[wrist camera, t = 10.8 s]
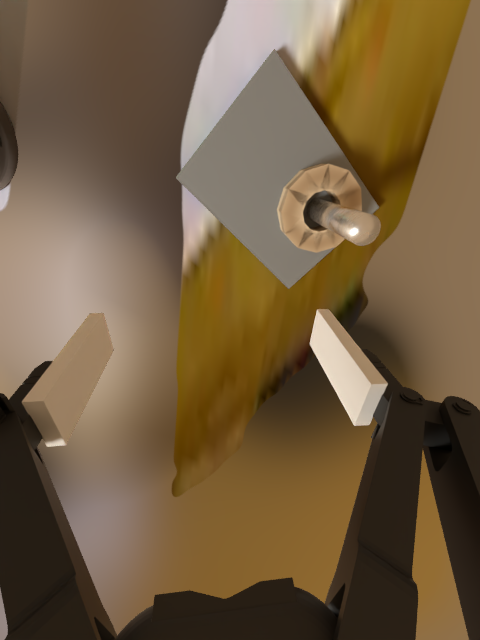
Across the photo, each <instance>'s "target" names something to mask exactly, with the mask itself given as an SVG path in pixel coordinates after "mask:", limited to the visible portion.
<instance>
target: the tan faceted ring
mask: <svg viewBox="0 0 480 640" xmlns="http://www.w3.org/2000/svg"><path fill="white" fill-rule="evenodd" d="M323 190H324V191H327V193H328V194H329V195H330V197H331V198H332V203H335V204H339V205H342V206H345V207H349V208H352V209H355V210H359V211H362V199H361V187H360V186H359V184H358V183H357V181H356V180H355V178H354V177H353V175H352V174H351V172H350V171H349V170H347V169H343V168H340V167H337V166H334V165H331V164H319V165H316V166H313V167H309V168H306V169H303V170H300V171H299V172H298V173H297V174H296V175H295V176H294V177H293V178H292V179H291V180H290V181H289V182H288V184H287V185H286V186H285V187H284V188H283V191H282V194H281V198H280V201H279V204H278V208H277V213H278V218H279V223H280V229H281V230H282V232H283V233H284V234H285V235H286V236H287V237H288V238H289V239H290V240H291V242H292V243H293V244H294V245H295V246H296V247H297V248H300V249H304V250H308V251H312V252H316V253H317V252H320V251H324V250H327V249H331V248H334V247H336V246H337V245H339V244H340V243H341V242H342V241H343V240H344V239H345V238H343V237H342V236H340V235H338V234H336V233H334V232H333V231H331V230H329V229H327V228H325V227H323V226H322V225H320V226H317V227H313V228H312V227H308V226H307V225H306V224H305V223H304V217H303V210H304V207H305V205H306V202H307V201H308V199H309V198H310V197H311V196H312V195H313V194H314V193H317V192H320V191H323Z"/></svg>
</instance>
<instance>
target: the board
mask: <svg viewBox="0 0 480 640" xmlns="http://www.w3.org/2000/svg"><path fill="white" fill-rule="evenodd" d="M319 164H331V165H334V166H337V167H340V168H343V169H347V170H349V171H350V172H351V174H352V175H353V177H354V178H355V180H356V181H357V183H358V184H359V186H360V187H361V199H362V212H365V213H369V214H373V213H374V212H375V211H376V210H377V209H378V208H379V206H378V205H377V203H376V202H375V200H374V199H373V197H372V196H371V194H370V193H369V191H368V190H367V188H366V187H365V185H364V184H363V182H362V181H361V179H360V178H359V176H358V175H357V173H356V171H355V170H354V168H353V167H352V165H351V164H350V162H349V161H348V159H347V158H346V156H345V155H344V153H343V152H342V150H341V149H340V147H339V146H338V144H337V143H336V141H335V140H334V138H333V137H332V135H331V134H330V132H329V131H328V129H327V128H326V126H325V125H324V123H323V122H322V120H321V118H320V117H319V115H318V114H317V112H316V111H315V109H314V108H313V106H312V105H311V103H310V102H309V100H308V99H307V97H306V96H305V94H304V93H303V91H302V90H301V88H300V87H299V85H298V84H297V82H296V81H295V79H294V78H293V76H292V75H291V73H290V72H289V70H288V69H287V67H286V65H285V64H284V62H283V61H282V59H281V58H280V56H279V55H278V53H277V52H276V50H275V49H274V50H273V51H272V53H271V54H270V55H269V57H268V58H267V59H266V60H265V62H264V63H263V64H262V66H261V67H260V68H259V70H258V71H257V72H256V74H255V75H254V76H253V77H252V79H251V80H250V81H249V83H248V84H247V85H246V87H245V88H244V89H243V90H242V92H241V93H240V94H239V96H238V97H237V98H236V100H235V101H234V102H233V104H232V105H231V106H230V107H229V109H228V110H227V111H226V113H225V114H224V115H223V117H222V118H221V119H220V121H219V122H218V123H217V124H216V126H215V127H214V128H213V130H212V131H211V132H210V134H209V135H208V136H207V138H206V139H205V140H204V141H203V143H202V144H201V145H200V147H199V148H198V149H197V151H196V152H195V153H194V154H193V156H192V157H191V158H190V160H189V161H188V162H187V164H186V165H185V166H184V168H183V169H182V170H181V171H180V173H179V174H178V176H177V177H176V178H177V179H178V180H179V181H180V182H181V183H182V184H183V185H184V186H185V187H186V188H187V189H188V190H189V191H190V192H191V193H192V194H193V195H194V196H195V197H196V198H197V199H198V200H199V201H200V202H201V203H202V204H203V205H204V206H205V207H206V208H207V209H208V210H209V211H210V212H211V213H212V214H213V215H214V216H215V217H216V218H217V219H218V220H219V221H220V222H221V223H222V224H223V225H224V226H225V227H226V228H227V229H228V230H229V231H230V232H231V233H232V234H233V235H234V236H235V237H236V238H237V239H239V240H240V241H241V242H242V243H243V244H244V245H245V246H246V247H247V248H248V249H249V250H250V251H251V252H252V253H253V254H254V255H255V256H256V257H257V258H258V259H259V260H260V261H261V262H262V263H263V264H264V265H265V266H266V267H267V268H268V269H269V270H270V271H271V272H272V273H273V274H274V275H275V276H276V277H277V278H278V279H279V280H280V281H281V282H282V283H283V284H284V285H285V286H286V287H287V288H288V289H289V288H290V287H291V286H292V285H294V284H295V283H296V282H297V281H298V280H299V279H300V278H301V277H302V276H304V275H305V274H306V273H307V272H308V271H309V270H310V269H311V268H313V267H314V266H315V265H316V264H317V263H318V262H319V261H320V260H321V259H323V258H324V257H325V256H326V255H327V254H328V253H329V252H330V251H331V250H333V249H334V248H335V247H334V248H331V249H327V250H324V251H320V252H317V253H316V252H312V251H308V250H304V249H300V248H297V247H296V246H295V245H294V244H293V243H292V242H291V240H290V239H289V238H288V237H287V236H286V235H285V234H284V233H283V232H282V230H281V229H280V223H279V218H278V213H277V208H278V204H279V201H280V198H281V194H282V191H283V188H284V187H285V186H286V185H287V184H288V182H289V181H290V180H291V179H292V178H293V177H294V176H295V175H296V174H297V173H298V172H299V171H300V170H303V169H306V168H309V167H313V166H316V165H319ZM317 198H318V199H322V200H325V201H329V202H332V198H331V197H330V195H329V194H328V193H327V191H324V190H323V191H320V192H317V193H314V194H313V195H312V196H311V197H310V198H309V199H308V201H307V202H306V205H305V207H304V210H303V217H304V223H305V224H306V225H307V226H308V227H312V228H313V227H317V226H320V224H318V223H316V222H314V221H313V220H311V219H309V218H308V217H307V215H306V207H307V205H308V203H309V202H310V201H311V200H313V199H317Z"/></svg>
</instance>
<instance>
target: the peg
mask: <svg viewBox="0 0 480 640" xmlns="http://www.w3.org/2000/svg"><path fill="white" fill-rule="evenodd" d="M306 215H307V217H308V218H309V219H311V220H313V221H314V222H316V223H318V224H320V225H322V226H323V227H325V228H327V229H329V230H331V231H333V232H334V233H336V234H338V235H340V236H342V237H343V238H345V239H347V240H349V241H351V242H353V243H354V244H356V245H359V246H364V245H368V244H370V243H371V242H373V241H374V240H375V239H376V237H377V236H378V234H379V232H380V227H381V225H380V221H379V219H378V218H377V217H376V216H375V215H372V214H369V213H365V212H362V211H359V210H355V209H352V208H349V207H345V206H342V205H339V204H335V203H332V202H329V201H325V200H322V199H318V198H317V199H313V200H311V201H310V202H309V203H308V205H307V207H306Z"/></svg>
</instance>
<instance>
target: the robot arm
mask: <svg viewBox="0 0 480 640" xmlns="http://www.w3.org/2000/svg"><path fill="white" fill-rule="evenodd" d="M17 163H18V146H17V140H16V136H15V132H14V129H13V126H12V124H11V121H10V119H9V117H8V115H7V113H6V111H5V109H4V107H3V106H2V104H1V102H0V190H1V189H3V188H4V187H5V186H6V185H7V184H8V183H9V182H10V181H11V179H12V178H13V176H14V173H15V171H16V168H17ZM310 345H311V347H312V349H313V351H314V353H315V355H316V356H317V358H318V360H319V362H320V364H321V366H322V367H323V369H324V371H325V373H326V375H327V376H328V378H329V380H330V382H331V384H332V386H333V387H334V389H335V391H336V393H337V395H338V397H339V398H340V400H341V402H342V404H343V406H344V408H345V409H346V411H347V413H348V415H349V417H350V419H351V420H352V422H353V424H354V425H355V426H357V425H369V424H370V422H371V420H372V418H373V417H374V418H375V420H376V421H377V423H378V424H377V426H376V428H375V430H374V432H373V434H372V436H371V438H372V442H371V446H370V450H369V453H368V457H367V460H366V464H365V468H364V471H363V475H362V479H361V482H360V486H359V489H358V493H357V497H356V500H355V504H354V508H353V511H352V515H351V519H350V522H349V526H348V529H347V533H346V537H345V540H344V544H343V547H342V551H341V555H340V558H339V562H338V566H337V569H336V572H335V575H334V578H333V581H332V584H331V586H330V589H329V592H328V595H327V598H326V601H325V604H324V603H323V602H322V601H320V600H319V599H318V598H317V597H315V596H314V595H312V594H310V593H309V592H307V591H304V590H302V589H300V588H297V587H294V584H293V579H292V578H285V579H276V580H269V581H261V582H258V583H256V584H255V585H253V586H251V587H249V588H247V589H245V590H243V591H241V592H239V593H237V594H235V595H233V596H232V597H230V598H227V599H222V598H218V597H214V596H210V595H206V594H202V593H197V592H193V591H183V592H175V593H168V594H159V595H155V597H154V605H153V606H151V607H149V608H147V609H146V610H144V611H143V612H141V613H140V614H139V615H137V616H136V617H135V618H134V619H133V620H131V621H130V622H129V623H128V624H127V625H126V626H125V628H124V629H123V630H122V631H121V632H120V633H119V634H118V636H117V634H116V632H115V630H114V627H113V625H112V623H111V621H110V619H109V616H108V615H107V613H106V611H105V609H104V607H103V605H102V603H101V600H100V598H99V596H98V593H97V591H96V588H95V586H94V584H93V581H92V579H91V576H90V574H89V571H88V569H87V566H86V564H85V561H84V559H83V556H82V554H81V552H80V549H79V547H78V544H77V542H76V539H75V537H74V534H73V532H72V530H71V527H70V525H69V522H68V520H67V518H66V515H65V512H64V510H63V507H62V505H61V502H60V500H59V498H58V495H57V493H56V490H55V488H54V485H53V483H52V481H51V478H50V476H49V473H48V471H47V468H46V466H45V463H44V461H43V458H42V456H41V453H40V451H39V449H38V448H37V446H38V444H39V443H40V441H41V439H43V440H44V441H45V444H46V445H47V446H61V445H66V444H67V442H68V440H69V438H70V436H71V434H72V432H73V430H74V428H75V426H76V424H77V422H78V420H79V418H80V416H81V414H82V412H83V410H84V408H85V406H86V404H87V402H88V401H89V399H90V396H91V394H92V392H93V391H94V389H95V387H96V385H97V383H98V381H99V379H100V376H101V374H102V373H103V371H104V369H105V366H106V364H107V362H108V361H109V359H110V356H111V355H112V352H113V351H114V349H113V346H112V342H111V338H110V335H109V331H108V328H107V324H106V320H105V316H104V313H91V314H89V316H88V317H87V318H86V319H85V321H84V322H83V323H82V325H81V326H80V327H79V328H78V330H77V331H76V333H75V334H74V335H73V336H72V337H71V339H70V340H69V341H68V343H67V344H66V346H64V348H63V349H62V350H61V352H60V353H59V354H58V356H57V357H56V358H55V359H54V361H45V362H44V363H42V364H41V365H39V366H38V367H37V368H35V369H34V370H33V371H32V373H31V374H30V375H29V376H28V378H27V379H26V380H25V381H24V382H23V385H21V386H20V387H19V388H18V389H17V391H16V392H15V393H14V394H13V395H12V397H11V398H10V399H9V400H8V399H7V397H6V396H5V395H4V394H1V393H0V588H1V593H2V598H3V603H4V608H5V614H6V619H7V625H8V635H7V637H6V639H5V640H415V637H416V623H417V608H418V590H417V585H416V583H415V582H414V581H413V578H412V565H413V553H414V542H415V530H416V518H417V506H418V495H419V484H420V472H421V461H422V449H423V450H424V454H425V459H426V463H427V467H428V471H429V476H430V480H431V484H432V488H433V492H434V496H435V500H436V504H437V508H438V512H439V517H440V521H441V525H442V529H443V533H444V538H445V541H446V546H447V550H448V554H449V558H450V562H451V566H452V570H453V575H454V579H455V583H456V587H457V591H458V595H459V600H460V604H461V608H462V612H463V616H464V620H465V624H466V629H467V632H468V637H469V640H480V411H479V410H478V409H477V407H476V406H474V405H473V404H472V403H470V402H469V401H467V400H465V399H462V398H459V397H455V396H449V397H446V398H445V399H444V401H443V402H442V403H439V402H433V401H428V400H425V399H424V398H423V397H422V396H421V395H420V394H419V393H418V392H416V391H414V390H412V389H410V388H406V387H402V385H401V384H400V383H399V382H398V381H397V380H396V378H395V377H394V376H393V375H392V374H391V373H390V371H389V370H388V369H386V367H385V365H384V364H383V363H381V361H380V360H379V358H378V357H377V356H376V355H375V354H373V353H372V352H370V351H369V350H367V349H360V348H359V347H358V345H357V344H356V343H355V342H354V340H353V339H352V338H351V337H350V336H349V334H348V333H347V332H346V330H345V329H344V328H343V327H342V325H341V324H340V323H339V322H338V320H337V319H336V318H335V317H334V315H333V314H332V313H331V312H330V310H329V309H317V312H316V317H315V321H314V326H313V331H312V335H311V340H310Z"/></svg>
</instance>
